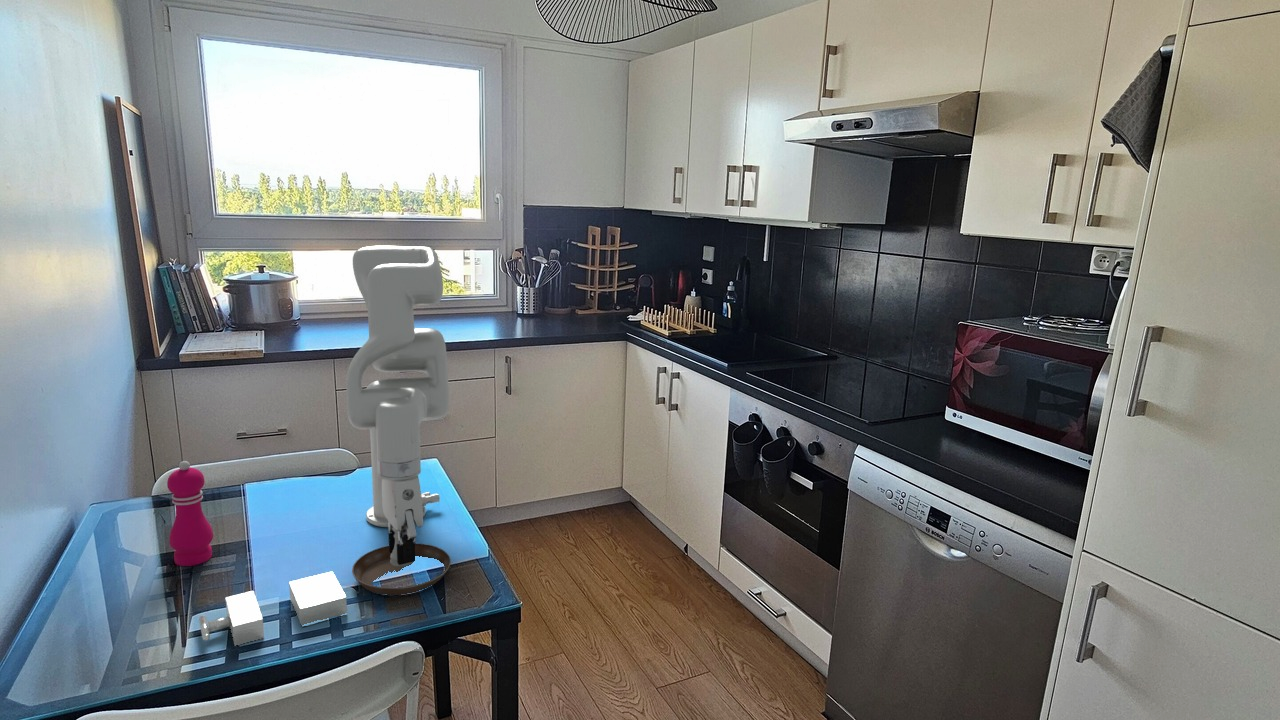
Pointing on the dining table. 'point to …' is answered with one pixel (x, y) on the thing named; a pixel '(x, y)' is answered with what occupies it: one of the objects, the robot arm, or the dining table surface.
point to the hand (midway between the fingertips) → (402, 555)
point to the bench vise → (307, 596)
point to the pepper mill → (189, 517)
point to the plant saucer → (394, 568)
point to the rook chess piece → (394, 552)
